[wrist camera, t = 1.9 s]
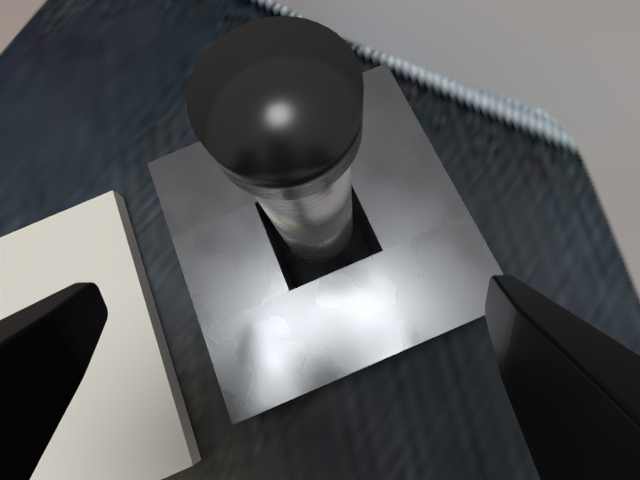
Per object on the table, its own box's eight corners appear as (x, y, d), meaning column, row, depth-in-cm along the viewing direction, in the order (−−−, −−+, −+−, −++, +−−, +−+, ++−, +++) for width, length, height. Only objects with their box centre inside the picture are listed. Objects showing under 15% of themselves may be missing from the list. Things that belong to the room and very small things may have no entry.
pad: (201, 459, 19) (192, 465, 18) (-87, 585, 18) (-112, 598, 17) (123, 197, 22) (112, 190, 21) (-118, 298, 22) (-139, 296, 21)
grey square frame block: (489, 309, 19) (517, 300, 16) (254, 411, 19) (232, 425, 16) (381, 105, 22) (385, 63, 19) (179, 191, 22) (147, 163, 19)
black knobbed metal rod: (370, 263, 20) (394, 128, 8) (304, 292, 20) (219, 202, 8) (341, 201, 21) (321, -8, 9) (277, 228, 21) (165, 55, 9)
